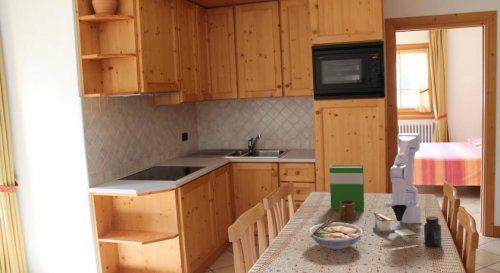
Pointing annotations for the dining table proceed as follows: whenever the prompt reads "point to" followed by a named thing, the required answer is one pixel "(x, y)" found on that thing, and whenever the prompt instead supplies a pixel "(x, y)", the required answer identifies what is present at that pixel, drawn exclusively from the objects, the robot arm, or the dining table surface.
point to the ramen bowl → (335, 234)
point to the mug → (347, 211)
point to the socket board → (389, 231)
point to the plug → (383, 224)
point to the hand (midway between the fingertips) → (399, 220)
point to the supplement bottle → (432, 232)
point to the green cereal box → (347, 185)
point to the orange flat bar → (382, 216)
